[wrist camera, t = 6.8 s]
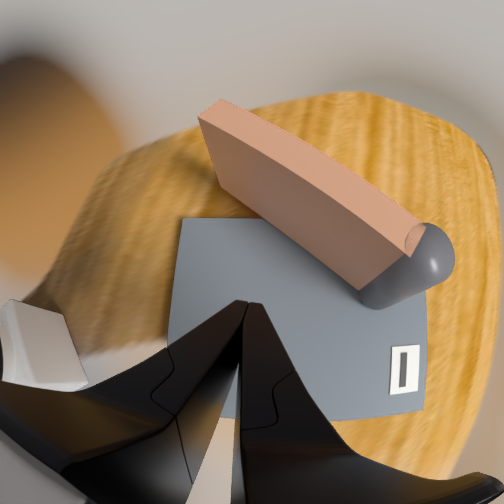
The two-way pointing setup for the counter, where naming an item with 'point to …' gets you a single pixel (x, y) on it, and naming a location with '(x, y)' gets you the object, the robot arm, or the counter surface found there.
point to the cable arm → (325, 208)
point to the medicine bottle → (38, 349)
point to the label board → (304, 317)
